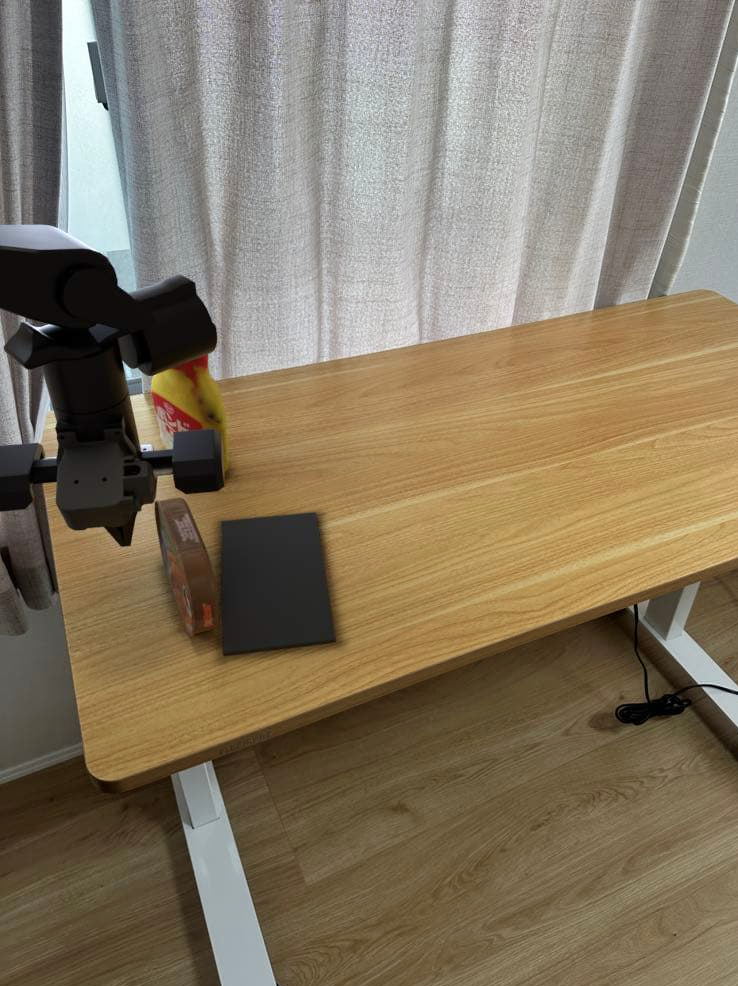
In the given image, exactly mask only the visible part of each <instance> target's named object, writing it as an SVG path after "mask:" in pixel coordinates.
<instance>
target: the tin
mask: <svg viewBox="0 0 738 986" xmlns="http://www.w3.org/2000/svg"><path fill="white" fill-rule="evenodd" d="M154 519H155V525H156V532H157V537H158V543H159V549H160V554H161V558H162V562H163V566H164V569H165V572H166V575H167V578H168V582H169V585H170V587H171V590H172V593H173V596H174V599H175V602H176V605H177V608H178V611H179V613H180V617H181V620H182V623H183V625H184V627H185V630H186V632H187V634H188V635H189V636H191V637H192V636H194V635H196V634H200V633H203V632H206V631H210V630H213V629H216V628H217V627H218V626H219V625H220V619H219V613H218V611H219V610H218V587H217V581H216V578H215V573H214V568H213V566H212V562H211V558H210V556H209V552H208V550H207V548H206V545H205V541H204V540H203V538H202V535H201V532H200V530H199V528H198V525H197V522H196V521H195V518H194V515H193V513H192V511H191V509H190V506H189V504H188V502H187V501H186V499H185V498H183V497H173V498H168V499H163V500H158V499H157V500H156V499H155V501H154Z"/></svg>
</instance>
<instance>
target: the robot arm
mask: <svg viewBox="0 0 738 986" xmlns="http://www.w3.org/2000/svg"><path fill="white" fill-rule="evenodd" d="M118 283H119V279H118V276H117V272H116V269H115V267H114V266H113V265H112V263H111V261H110V258H109V257H107V256H105V255H104V254H103V253H102V252H100V251H98V250H97V249H95V248H93V247H91V246H90V245H88V244H86V243H85V242H83V241H81V240H80V239H78V238H76V237H74V236H73V235H71V234H69V233H67V232H66V231H64V230H62V229H61V228H58V227H55V226H53V225H49V224H0V310H3V311H6V312H9V313H11V314H14V315H16V316H18V317H22V318H25V319H27V320H32V321H35V322H38V323H43V324H45V325H43V326H34V325H32V324H30V323H29V322H27V321H22V322H20V323H19V327H18V329H17V331H15V333H14V334H13V335H12V336H11V337H10V338H9V339H8V341H6V343H5V344H4V346H3V351H4V353H6V354H7V355H8V356H9V357H10V358H12V359H13V360H14V361H16V362H17V364H19V365H21V367H23V368H24V369H25V370H28V371H30V370H34V369H37V368H40V367H41V372H42V374H43V378H44V382H45V385H46V388H47V392H48V395H49V399H50V403H51V407H52V410H53V414H54V418H55V423H56V424H55V427H54V430H55V434H56V441H57V445H58V446H57V452H56V456H52V457H51V456H49V457H46V453H45V452H46V451H45V449H44V446H43V444H41V443H39V442H29V443H16V444H15V443H14V444H4V445H0V513H1V512H2V513H3V512H12V511H22V510H23V511H24V510H27V508H28V507H29V506H30V505H31V504H32V503H33V502H34V500H35V494H34V491H33V485H41V484H54V483H56V488H55V505H56V506H57V509H58V510H59V512H60V514H61V516H62V518H63V520H64V522H65V524H66V525H67V527H68V528H69V529H70V530H73V531H78V532H79V531H86V530H88V529H95V528H96V529H97V528H104V529H105V531H106V532H107V533H108V534H109V535H110V537H112V539H114V541H115V542H116V543H117V544H118V545H119V547H121V548H125V547H131V546H132V540H133V535H134V530H135V529H134V528H135V524H136V519H137V515H138V513H141V512H142V509H143V506H145V505H150V504H151V505H152V504H154V503H155V501H156V498H157V489H158V479H159V478H158V477H162V476H172V478H173V484H174V488H175V489H176V490H178V491H179V492H181V493H182V494H184V495H194V494H195V495H197V494H208V493H217V492H219V491H221V490H222V489H224V488H225V487H226V486H225V485H226V484H225V483H226V482H225V472H224V449H223V442H222V436H221V434H220V433H218V432H217V431H216V430H215V429H203V430H190V431H178V432H174V437H173V449H166V448H164V449H155V447H154V445H153V444H141V442H140V437H139V433H138V428H137V424H136V419H135V418H136V417H135V413H134V410H133V404H132V399H131V395H130V390H129V385H128V381H127V375H126V370H125V366H127V367H128V368H130V369H131V370H136V369H137V370H139V372H141V373H142V374H143V375H145V376H148V377H153V376H154V375H156V374H159V373H161V372H164V371H166V370H169V369H171V368H174V367H177V366H179V365H182V364H184V363H187V362H189V361H192V360H194V359H197V358H199V357H202V356H204V355H207V354H208V355H209V354H212V353H214V351H215V350H216V348H217V346H218V345H217V344H218V330H217V326H216V323H214V322H213V319H212V316H211V315H210V312H209V310H208V308H207V306H206V305H205V303H204V301H203V300H202V299H201V297H200V296H199V294H198V293H197V285H196V282H195V281H194V280H191V279H190V278H188V277H186V276H184V275H183V274H181V273H179V274H175V275H172V276H169V277H166V278H165V279H163V280H162V281H160V282H158V283H155V284H152V285H148V286H146V287H145V286H144V287H142V288H139V289H136V290H133V291H130V292H127V291H126V290H124V289H123V288H121V287H120V286H119V284H118ZM124 364H125V366H124Z"/></svg>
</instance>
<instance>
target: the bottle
mask: <svg viewBox="0 0 738 986" xmlns="http://www.w3.org/2000/svg"><path fill="white" fill-rule="evenodd" d="M209 368H210V367H209V354H207V355H204V356H202V357H199V358H197V359H194V360H192V361H189V362H187V363H184V364H182V365H179V366H177V367H174V368H171V369H169V370H166V371H164V372H161V373H159V374H156V375H154V376H152V378H151V387H150V392H151V398H152V404H153V407H154V410H155V415H156V420H157V423H158V426H159V436H160V439H161V442H162V445H163V447H164V449H173V437H174V432H178V431H190V430H203V429H215V430H216V431H217V432H218V433H220V434H221V436H222V442H223V449H224V473H225V472H226V471H227V470H228V468H229V448H230V447H229V446H230V443H229V437H228V424H227V423H228V422H227V411H226V408H225V403H224V402H225V401H224V399H223V395H222V391H221V389H220V387H219V385H218V384H217V382H216V381H215V380H214V378H213V377H212V375H211V372H210V369H209Z"/></svg>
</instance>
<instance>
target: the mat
mask: <svg viewBox="0 0 738 986" xmlns="http://www.w3.org/2000/svg"><path fill="white" fill-rule="evenodd" d="M220 527H221V528H220V530H221V531H220V533H221V535H220V536H221V537H220V538H221V539H220V540H221V605H222V606H221V608H222V609H221V610H222V611H221V615H222V616H221V617H222V656H232V655H239V654H249V653H255V652H256V653H257V652H264V651H272V650H281V649H289V648H296V647H297V648H298V647H305V646H313V645H322V644H330V643H336V642H337V640H336V633H335V626H334V620H333V614H332V613H333V612H332V608H331V600H330V593H329V587H328V582H327V580H328V579H327V575H326V568H325V562H324V555H323V549H322V543H321V536H320V530H319V524H318V516H317V512H315V511H311V512H304V513H303V512H302V513H293V514H282V515H271V516H270V515H269V516H260V517H252V518H239V519H230V520H229V519H228V520H227V519H226V520H221V521H220Z"/></svg>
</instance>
